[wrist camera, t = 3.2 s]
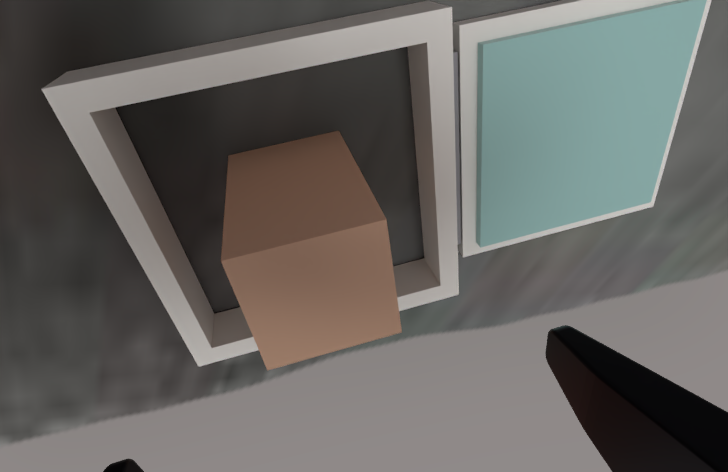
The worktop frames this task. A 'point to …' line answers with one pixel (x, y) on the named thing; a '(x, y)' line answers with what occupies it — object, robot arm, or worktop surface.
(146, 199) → the pale grey square frame
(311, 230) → the block
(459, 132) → the lid
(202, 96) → the worktop surface
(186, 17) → the worktop surface
